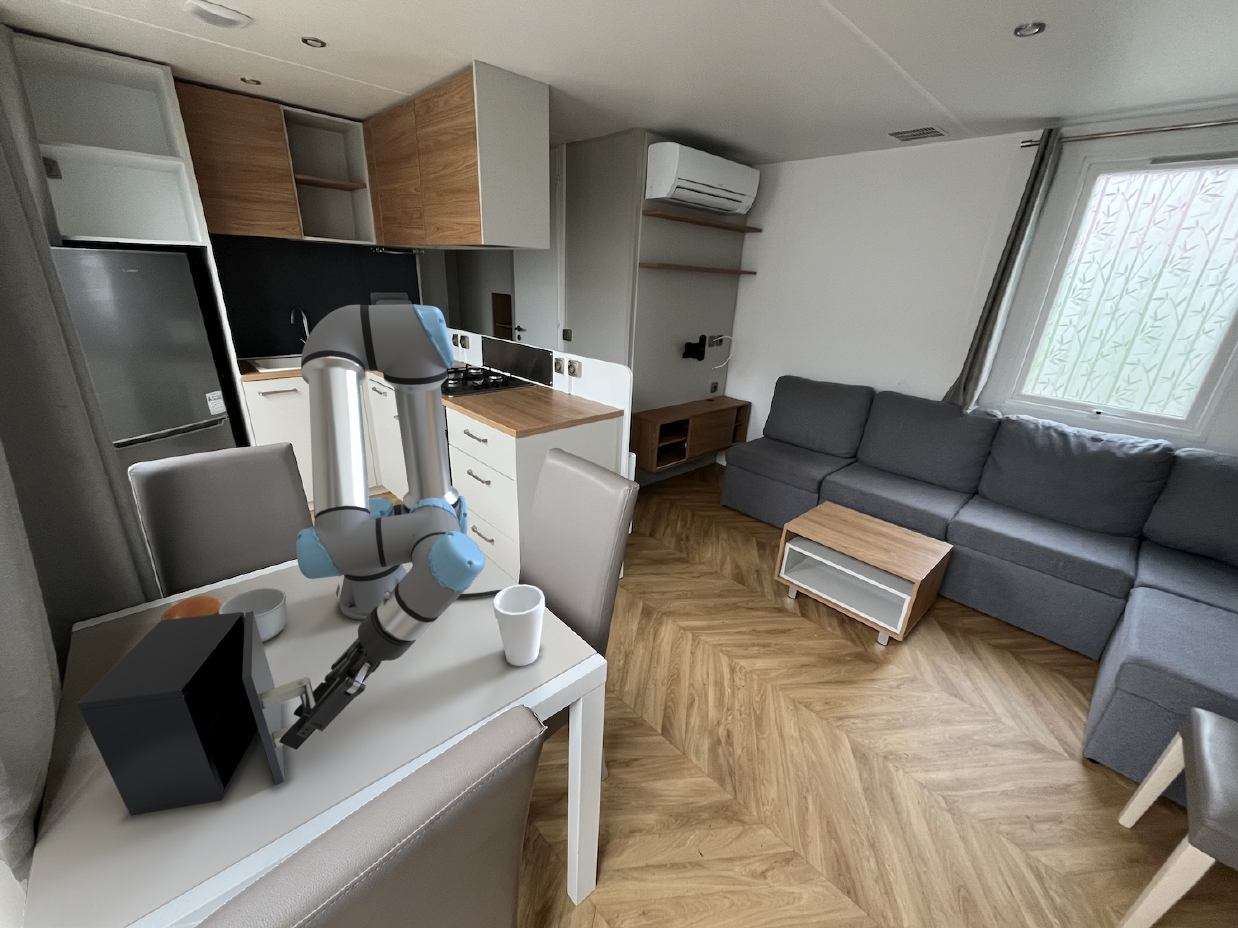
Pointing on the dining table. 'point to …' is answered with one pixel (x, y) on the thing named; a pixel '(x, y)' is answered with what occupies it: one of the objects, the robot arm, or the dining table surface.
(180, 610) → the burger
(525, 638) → the foam cup
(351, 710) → the dining table surface
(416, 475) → the robot arm
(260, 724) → the fridge door
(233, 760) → the fridge
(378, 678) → the dining table surface
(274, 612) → the teacup
